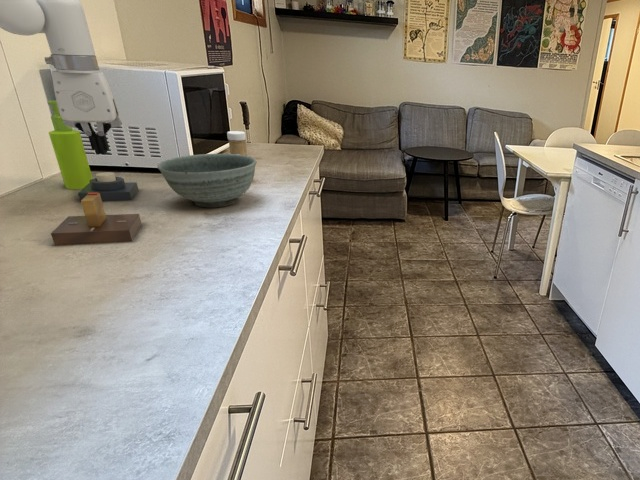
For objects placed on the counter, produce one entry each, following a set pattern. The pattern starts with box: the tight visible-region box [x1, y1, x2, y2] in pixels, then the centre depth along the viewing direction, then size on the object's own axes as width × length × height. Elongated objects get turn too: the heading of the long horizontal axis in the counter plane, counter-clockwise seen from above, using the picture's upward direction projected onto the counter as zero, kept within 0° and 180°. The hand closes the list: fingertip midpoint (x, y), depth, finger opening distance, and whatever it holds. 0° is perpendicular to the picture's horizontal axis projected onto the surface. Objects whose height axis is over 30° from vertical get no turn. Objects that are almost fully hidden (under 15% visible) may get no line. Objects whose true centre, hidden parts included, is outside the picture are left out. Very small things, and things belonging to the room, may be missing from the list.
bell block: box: [77, 176, 140, 202], centre depth 112 cm, size 10×9×4 cm
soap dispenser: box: [47, 99, 94, 190], centre depth 113 cm, size 6×7×20 cm
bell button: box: [95, 171, 116, 182], centre depth 111 cm, size 4×4×2 cm
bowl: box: [157, 153, 257, 208], centre depth 112 cm, size 21×21×10 cm
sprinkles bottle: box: [226, 130, 248, 156], centre depth 129 cm, size 5×5×14 cm
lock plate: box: [50, 213, 143, 247], centre depth 91 cm, size 12×10×3 cm
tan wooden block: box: [80, 192, 107, 227], centre depth 89 cm, size 5×2×5 cm, turn 20°
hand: (101, 153), depth 108 cm, fingers closed
